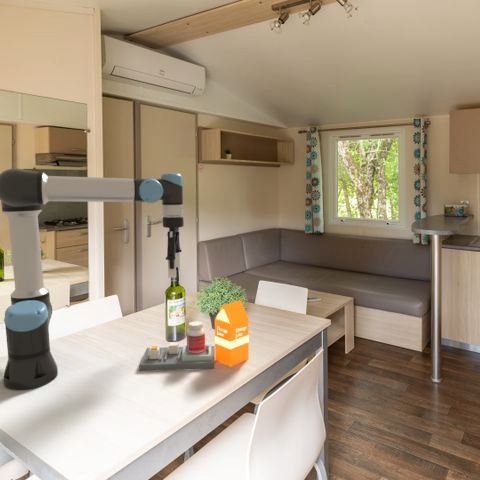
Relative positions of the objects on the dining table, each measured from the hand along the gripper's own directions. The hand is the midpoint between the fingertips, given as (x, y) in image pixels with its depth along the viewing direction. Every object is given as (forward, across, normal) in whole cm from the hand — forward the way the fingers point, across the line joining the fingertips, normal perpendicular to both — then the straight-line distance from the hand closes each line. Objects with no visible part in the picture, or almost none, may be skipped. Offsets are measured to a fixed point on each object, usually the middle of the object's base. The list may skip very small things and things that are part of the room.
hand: (174, 273), depth 158 cm
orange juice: (+27, -17, -21) cm, 38 cm away
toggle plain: (+24, -15, -1) cm, 29 cm away
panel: (+27, -17, -3) cm, 32 cm away
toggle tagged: (+24, -19, +5) cm, 31 cm away
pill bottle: (+25, -17, -9) cm, 31 cm away
